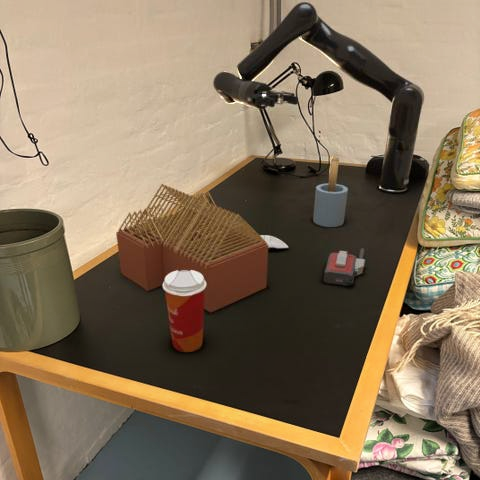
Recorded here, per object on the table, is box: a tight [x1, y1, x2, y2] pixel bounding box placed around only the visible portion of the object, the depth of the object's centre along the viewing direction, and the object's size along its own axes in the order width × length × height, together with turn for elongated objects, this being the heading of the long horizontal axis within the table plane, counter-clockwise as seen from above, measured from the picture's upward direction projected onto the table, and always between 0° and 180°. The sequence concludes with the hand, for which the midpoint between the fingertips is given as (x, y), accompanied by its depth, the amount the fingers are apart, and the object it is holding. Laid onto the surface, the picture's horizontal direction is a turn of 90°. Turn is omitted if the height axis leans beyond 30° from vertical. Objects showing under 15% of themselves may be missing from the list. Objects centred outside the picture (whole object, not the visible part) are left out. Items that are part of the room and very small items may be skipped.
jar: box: [312, 183, 349, 228], centre depth 146 cm, size 9×9×10 cm
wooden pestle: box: [327, 155, 340, 192], centre depth 144 cm, size 5×5×18 cm
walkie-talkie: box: [323, 247, 366, 287], centre depth 121 cm, size 9×4×20 cm
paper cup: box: [162, 270, 206, 353], centre depth 91 cm, size 8×8×14 cm
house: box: [115, 183, 269, 313], centre depth 112 cm, size 28×23×19 cm
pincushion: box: [259, 226, 289, 249], centre depth 131 cm, size 12×6×6 cm, turn 81°
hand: (285, 102), depth 148 cm, fingers open, 8 cm apart
